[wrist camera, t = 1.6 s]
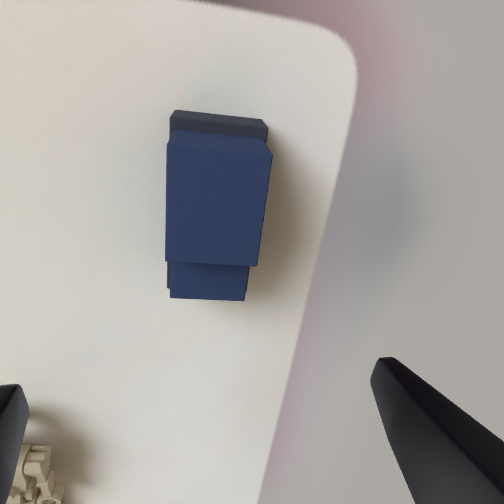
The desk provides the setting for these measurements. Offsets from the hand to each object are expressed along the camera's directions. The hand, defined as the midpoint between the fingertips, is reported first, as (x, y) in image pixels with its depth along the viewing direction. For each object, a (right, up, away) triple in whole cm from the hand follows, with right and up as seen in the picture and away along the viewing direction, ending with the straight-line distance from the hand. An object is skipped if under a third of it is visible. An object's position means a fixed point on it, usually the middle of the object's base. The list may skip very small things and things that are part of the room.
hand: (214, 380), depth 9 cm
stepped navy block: (-1, +6, +11) cm, 13 cm away
